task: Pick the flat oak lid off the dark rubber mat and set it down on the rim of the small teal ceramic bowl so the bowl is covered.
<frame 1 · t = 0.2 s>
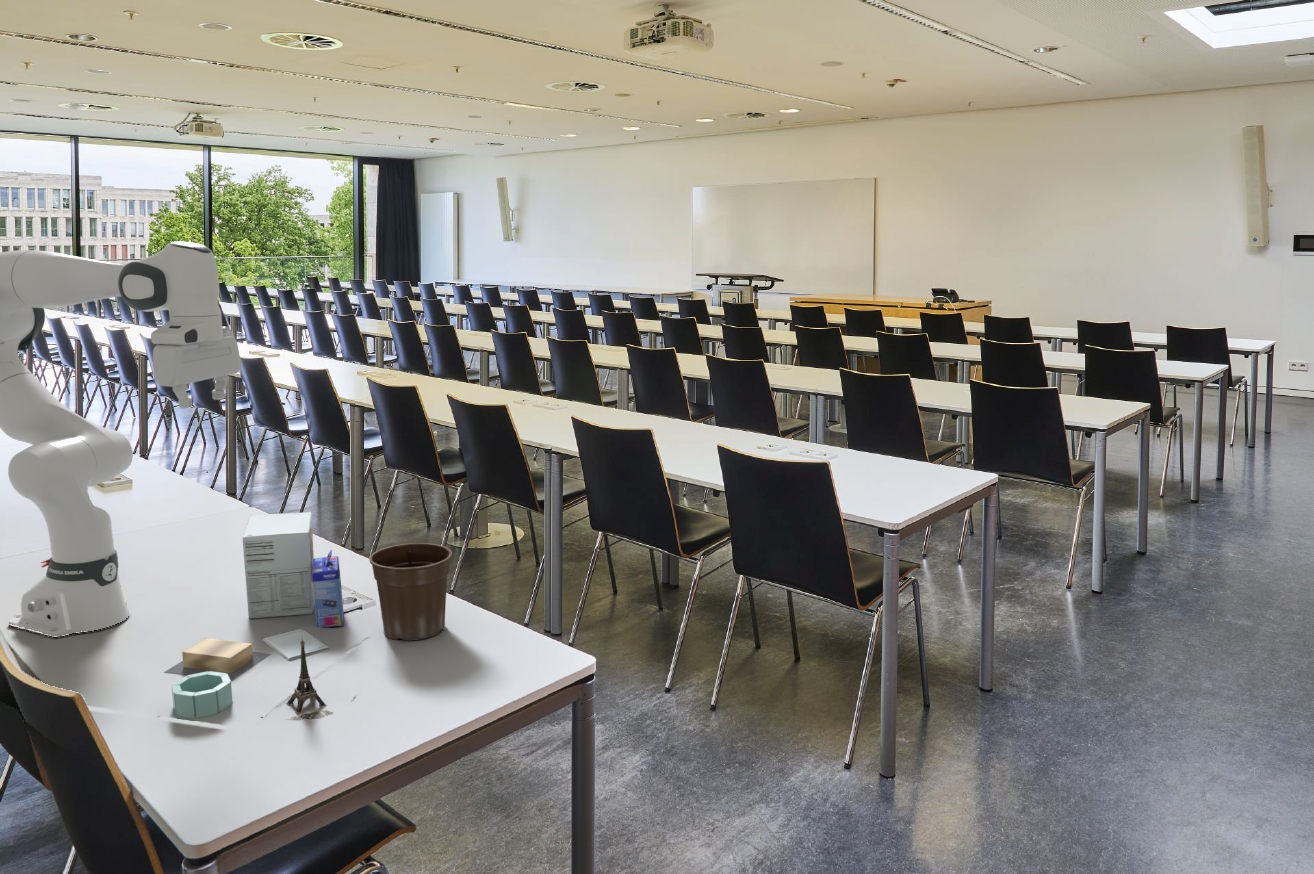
hand: (202, 403, 188), 47 cm above the table, tool pointing down, fingers open, 8 cm apart
eiffel tower figurine: (304, 710, 170), on the table
lid: (218, 662, 184), point 1 cm above the table, touching mat
mat: (219, 665, 184), on the table
bowl: (203, 707, 168), on the table
plant pot: (413, 630, 203), on the table
ink cartridge box: (331, 619, 207), on the table
hard drive: (296, 651, 193), on the table
supplement box: (283, 603, 216), on the table
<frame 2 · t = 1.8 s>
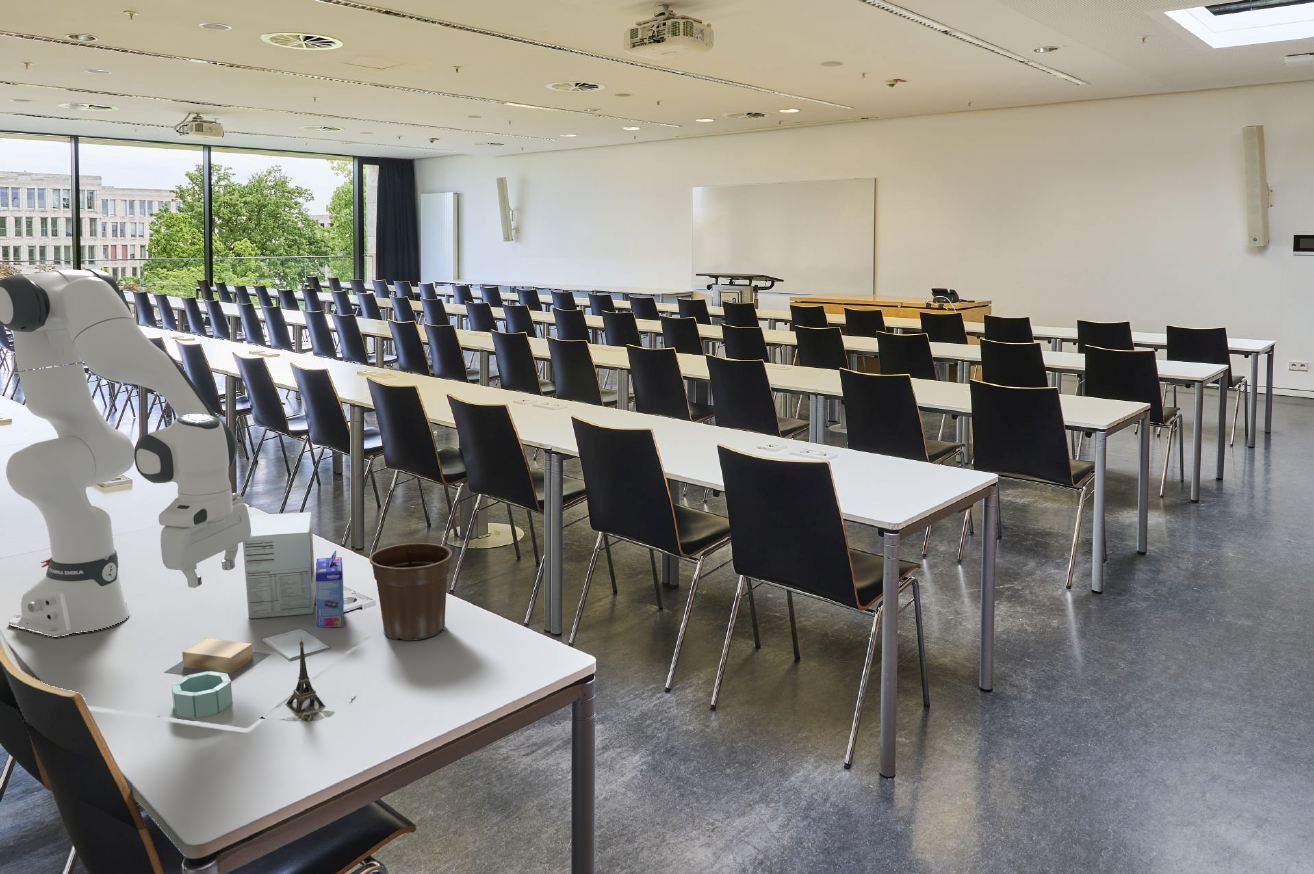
hand: (212, 577, 181), 17 cm above the table, tool pointing down, fingers open, 8 cm apart
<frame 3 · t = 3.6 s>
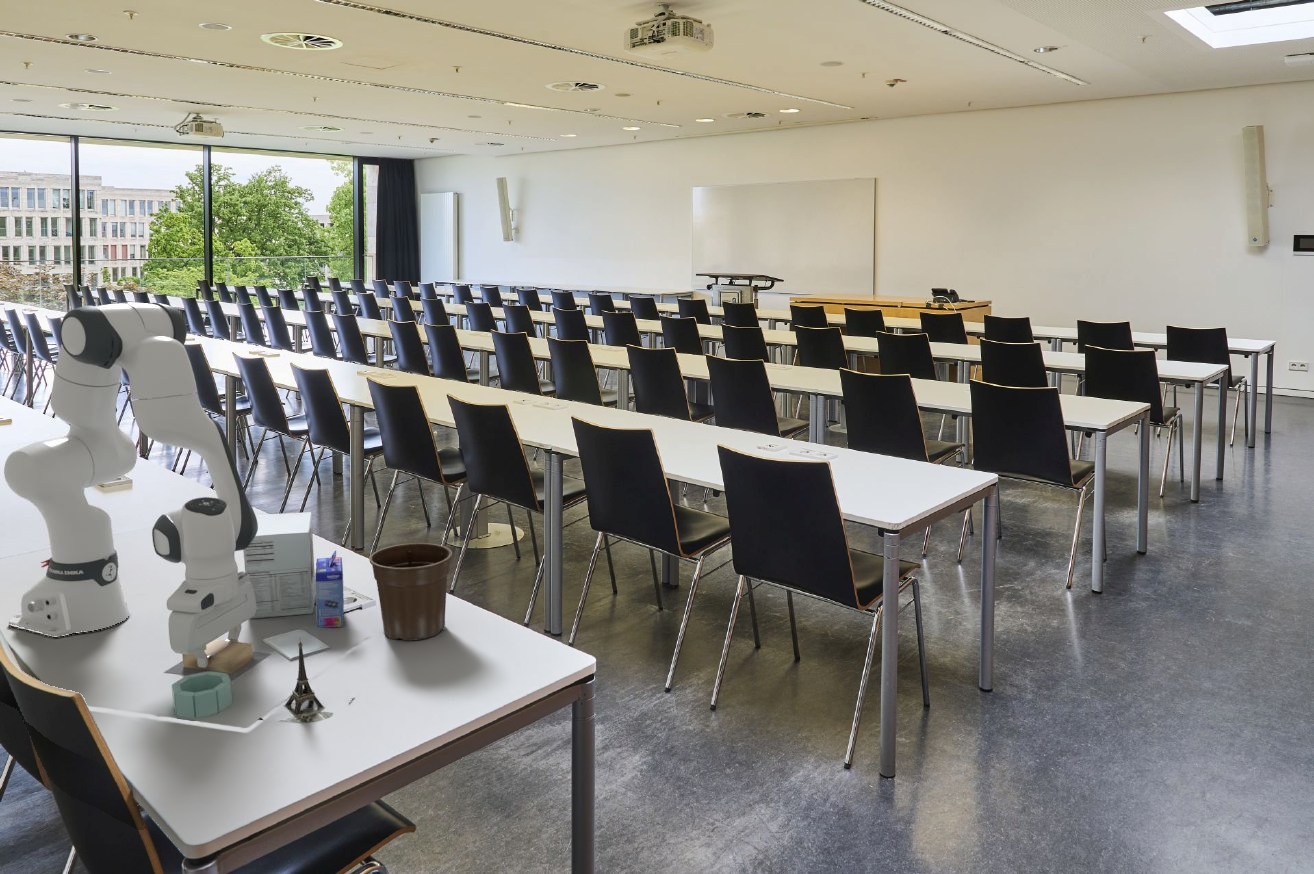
hand: (218, 657, 184), 2 cm above the table, tool pointing down, fingers closed on lid, 6 cm apart
lid: (218, 662, 184), point 1 cm above the table, touching gripper, mat
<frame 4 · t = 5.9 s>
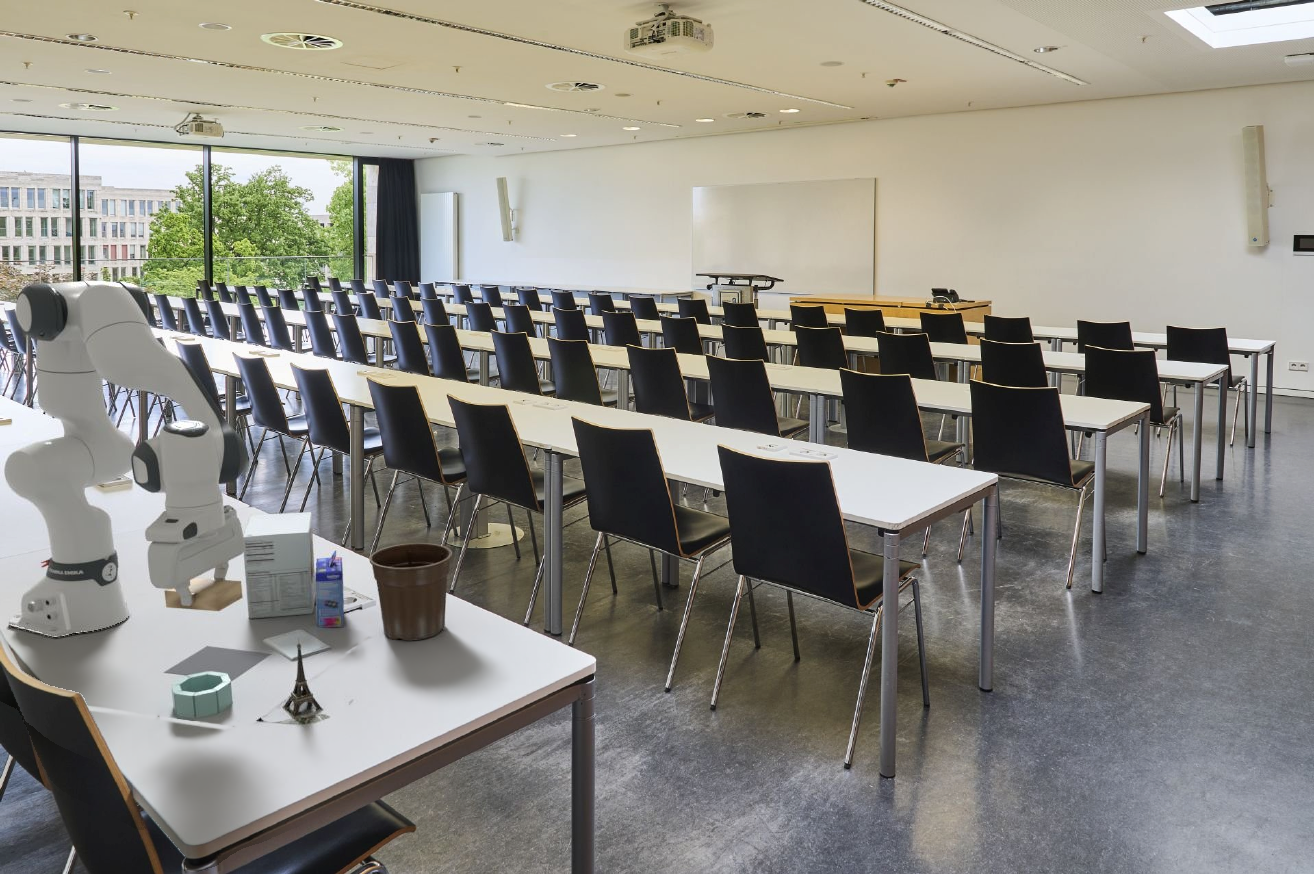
hand: (204, 596, 169), 18 cm above the table, tool pointing down, fingers closed on lid, 6 cm apart
lid: (204, 602, 169), point 17 cm above the table, touching gripper
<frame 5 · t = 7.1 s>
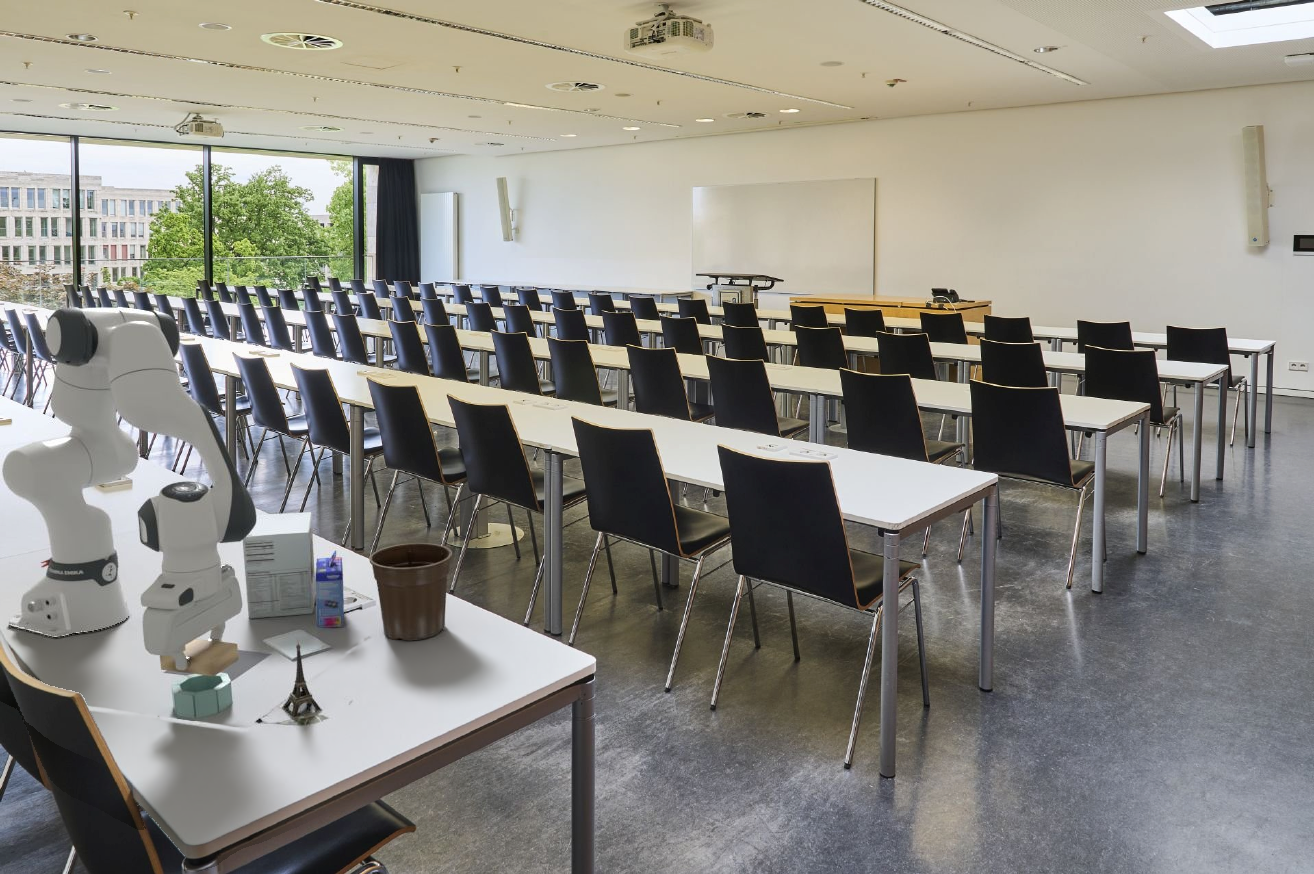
hand: (199, 658, 167), 9 cm above the table, tool pointing down, fingers closed on lid, 6 cm apart
lid: (200, 664, 167), point 8 cm above the table, touching gripper
when the fingers open (6 cm above the table, at t = 8.1 s): lid stays where it is, resting on bowl.
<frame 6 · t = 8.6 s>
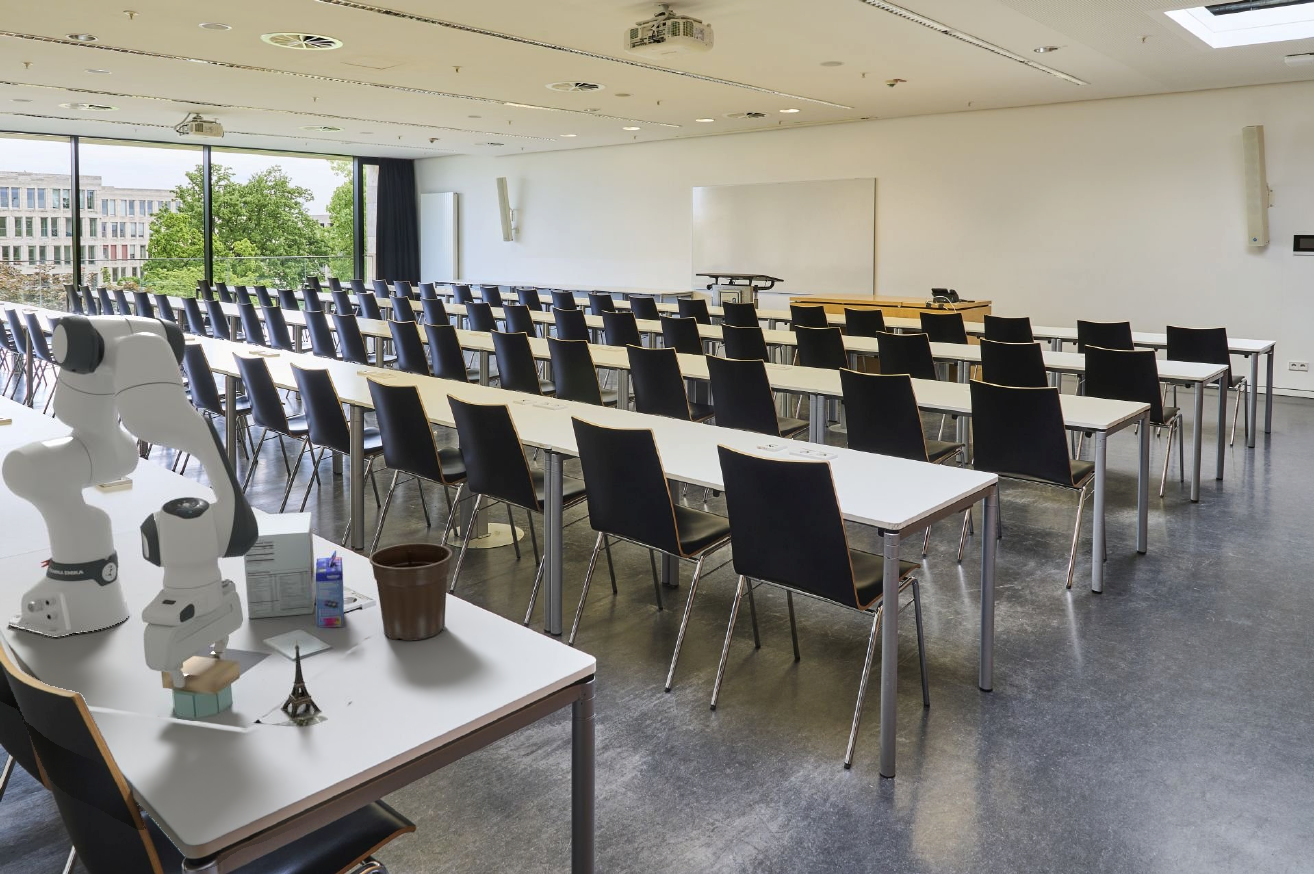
hand: (200, 673, 167), 6 cm above the table, tool pointing down, fingers open, 8 cm apart
lid: (201, 682, 168), point 4 cm above the table, touching bowl
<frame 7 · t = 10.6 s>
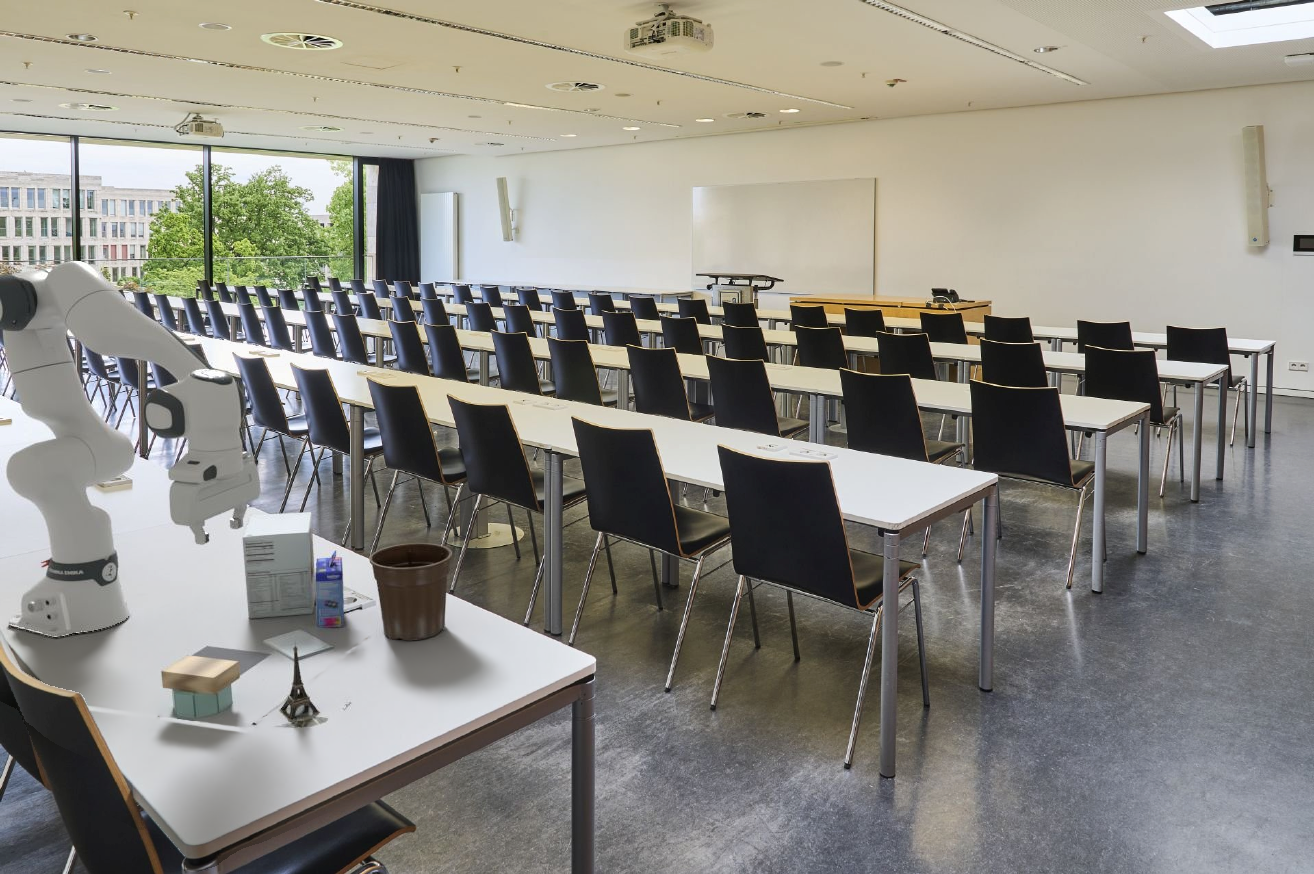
hand: (220, 535, 179), 25 cm above the table, tool pointing down, fingers open, 8 cm apart
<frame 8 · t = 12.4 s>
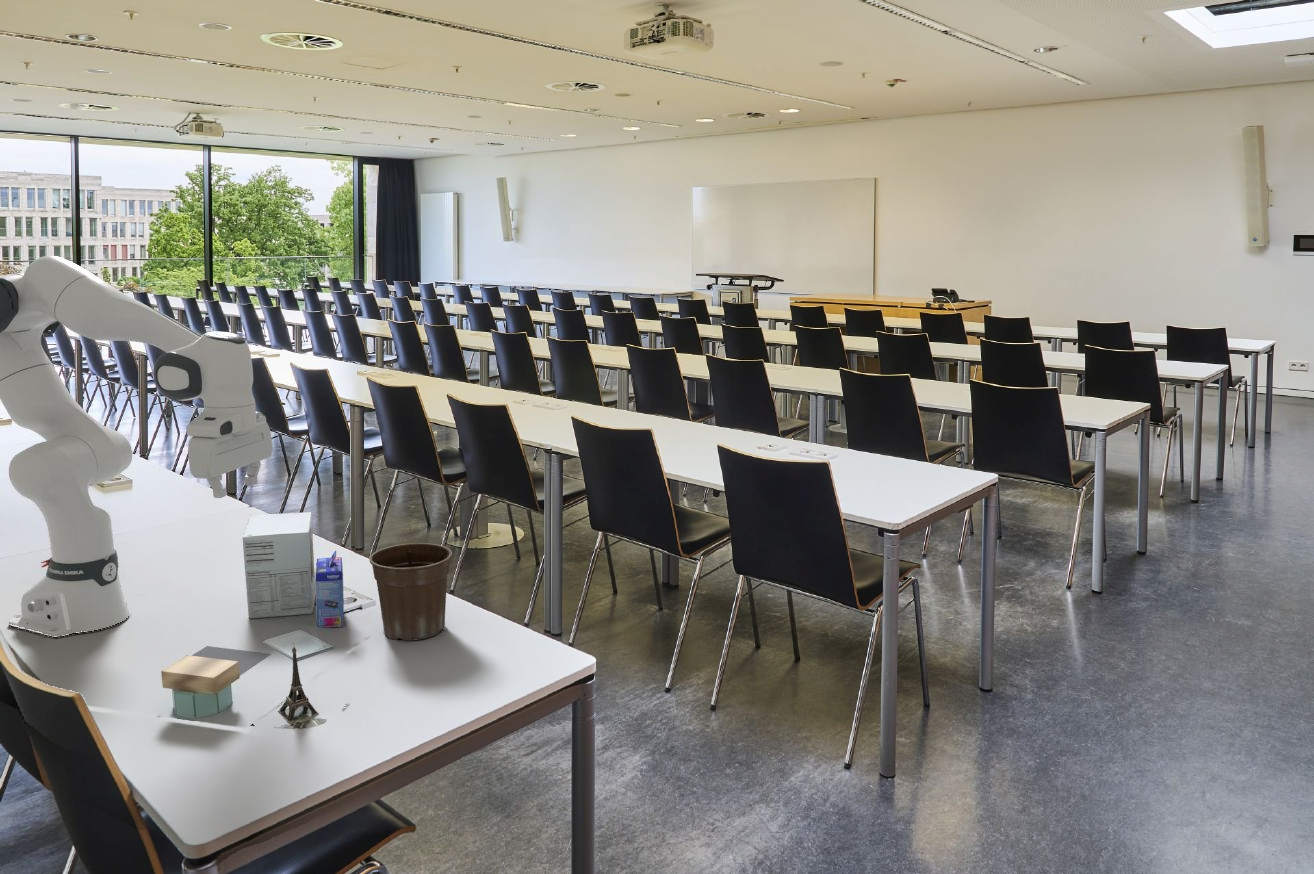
hand: (236, 490, 188), 31 cm above the table, tool pointing down, fingers open, 8 cm apart
at the end: lid 0.2 cm off-centre on the bowl, point 4.5 cm above the bowl's base; lid tilted 0°; the gripper is holding nothing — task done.
